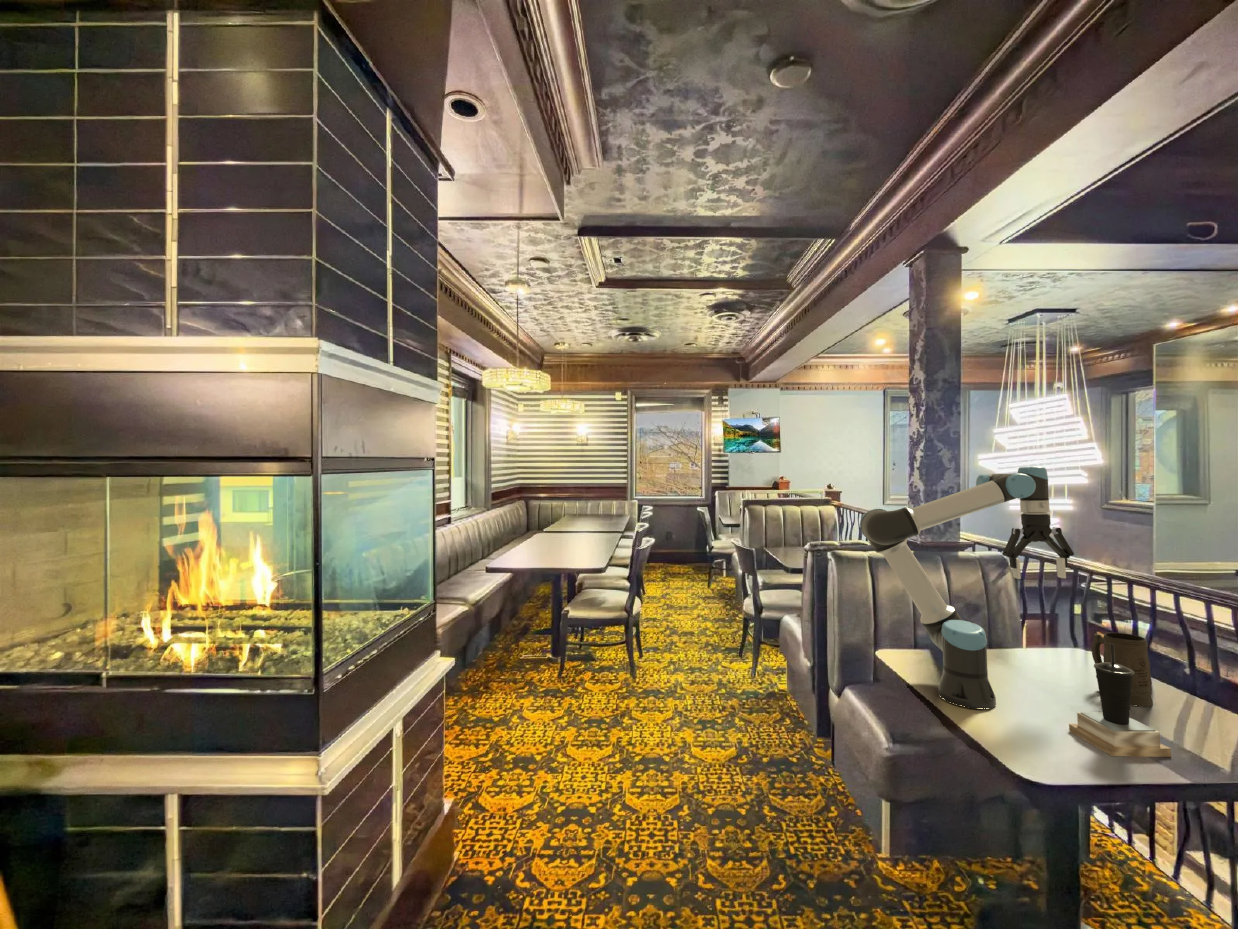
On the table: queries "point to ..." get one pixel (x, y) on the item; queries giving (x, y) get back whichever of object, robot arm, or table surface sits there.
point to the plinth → (1120, 749)
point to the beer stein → (1128, 662)
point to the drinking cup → (1114, 690)
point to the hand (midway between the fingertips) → (1039, 578)
